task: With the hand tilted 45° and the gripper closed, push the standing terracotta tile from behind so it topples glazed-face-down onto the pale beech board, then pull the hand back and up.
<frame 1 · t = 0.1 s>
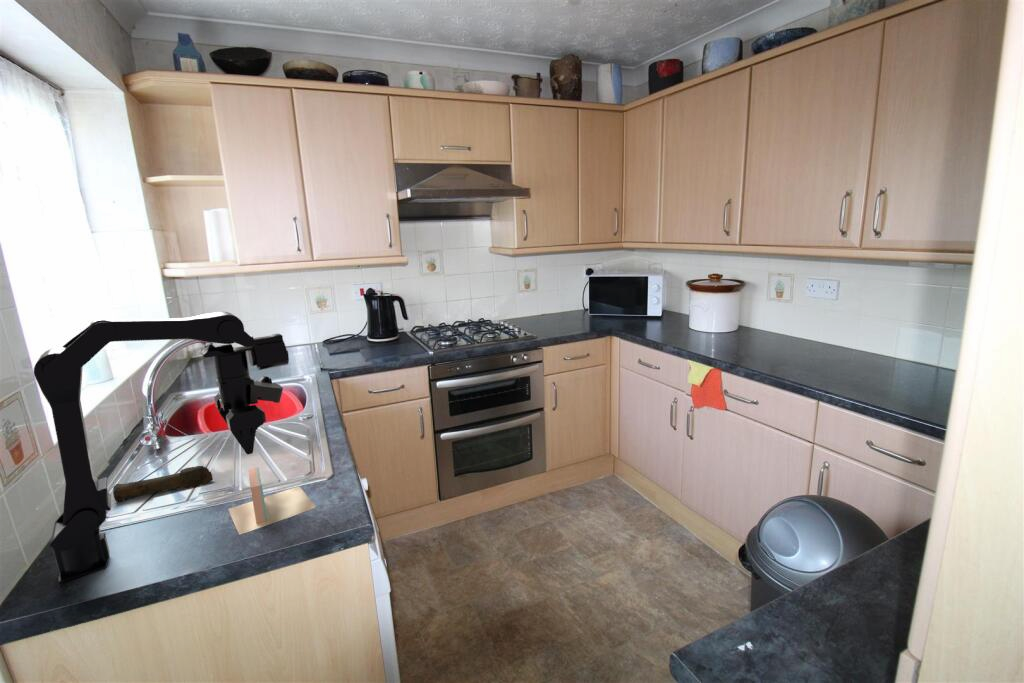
hand: (245, 446, 103), 15 cm above the worktop, tool pointing down, fingers open, 9 cm apart
beech board: (272, 513, 105), on the worktop
terracotta tile: (260, 512, 103), point 1 cm above the worktop, touching beech board
brown wooden rod: (166, 491, 117), on the worktop
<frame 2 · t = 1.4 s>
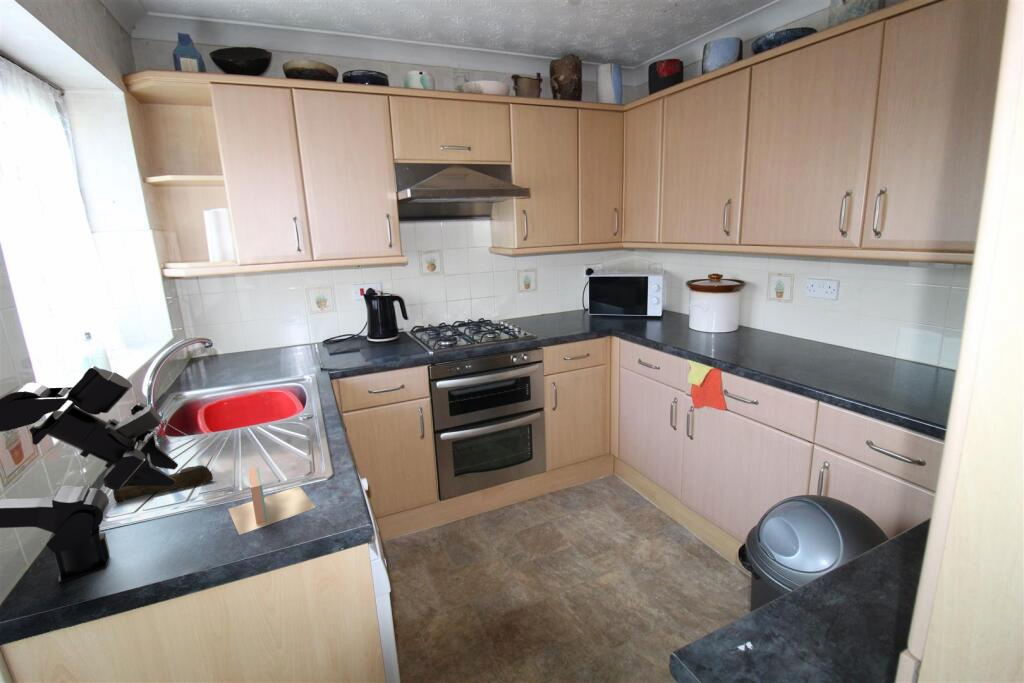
hand: (175, 475, 94), 13 cm above the worktop, tool tilted 45°, fingers open, 7 cm apart
nothing on the worktop moved.
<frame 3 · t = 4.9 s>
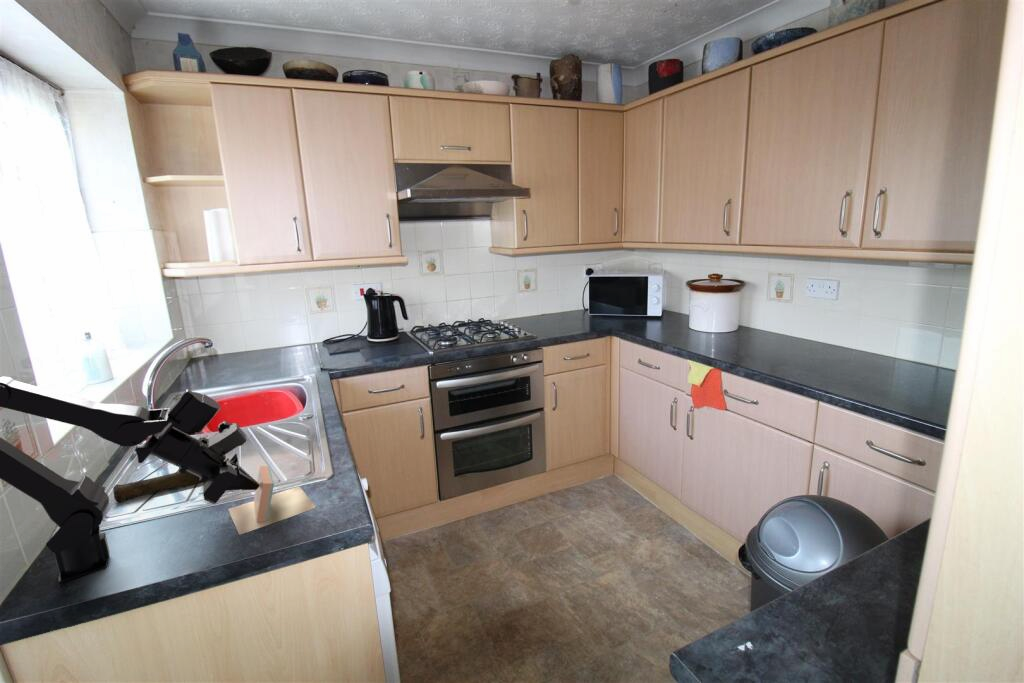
hand: (258, 487, 102), 7 cm above the worktop, tool tilted 45°, fingers closed
terracotta tile: (260, 511, 103), point 1 cm above the worktop, tilted 16°, touching beech board
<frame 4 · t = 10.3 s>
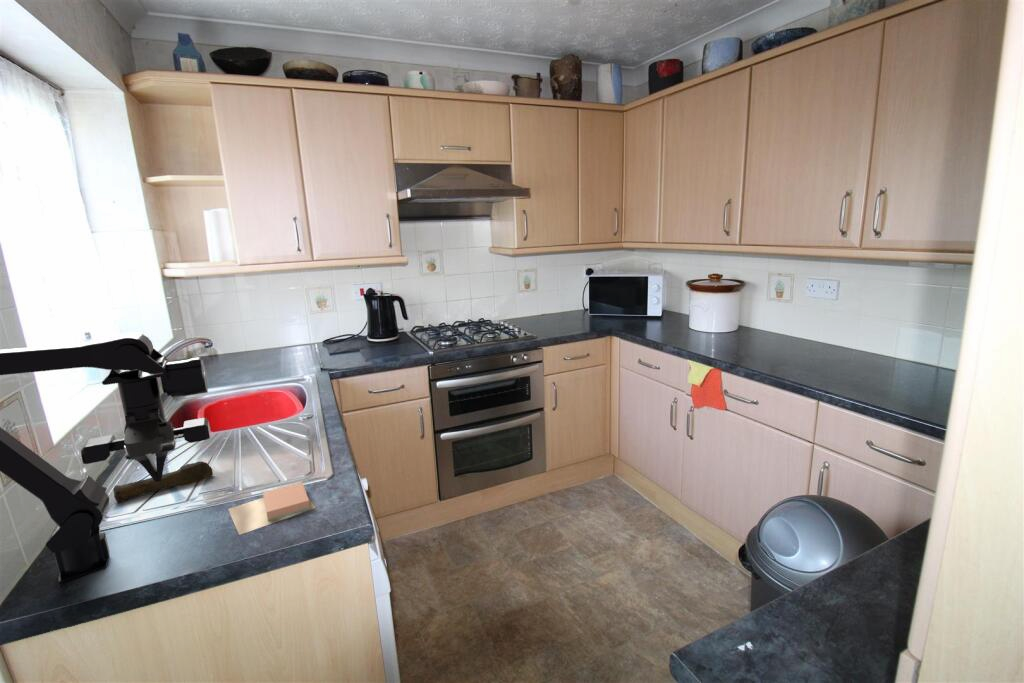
hand: (158, 481, 93), 13 cm above the worktop, tool pointing down, fingers closed
terracotta tile: (265, 506, 104), point 2 cm above the worktop, tilted 90°, touching beech board
at the end: terracotta tile tilted 90°; terracotta tile inside the target area (0.4 cm from its centre), point 2.2 cm above the worktop; terracotta tile touching beech board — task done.
